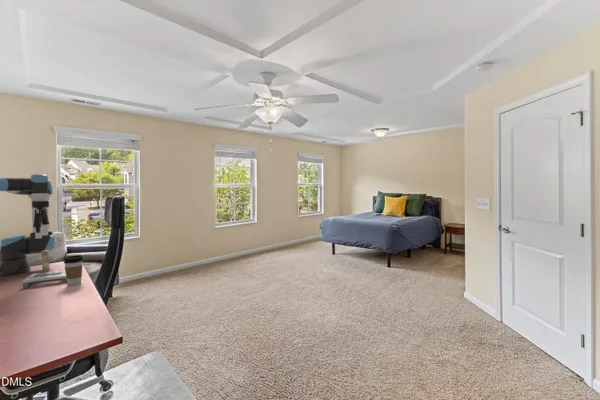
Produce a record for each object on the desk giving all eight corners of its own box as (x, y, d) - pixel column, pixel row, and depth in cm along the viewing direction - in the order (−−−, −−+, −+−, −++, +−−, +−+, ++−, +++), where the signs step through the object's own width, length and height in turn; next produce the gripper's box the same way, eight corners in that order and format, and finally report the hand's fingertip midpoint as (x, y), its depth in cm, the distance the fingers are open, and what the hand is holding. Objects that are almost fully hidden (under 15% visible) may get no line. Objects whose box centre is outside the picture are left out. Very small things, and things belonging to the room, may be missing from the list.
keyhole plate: (32, 280, 169) (32, 273, 169) (75, 275, 178) (75, 268, 178) (22, 288, 155) (22, 280, 155) (70, 282, 164) (69, 275, 164)
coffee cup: (87, 281, 164) (86, 255, 164) (74, 286, 156) (73, 258, 155) (74, 281, 165) (73, 255, 164) (60, 286, 156) (59, 258, 156)
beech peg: (41, 276, 177) (40, 250, 176) (53, 275, 179) (52, 249, 179) (38, 279, 172) (37, 251, 171) (50, 277, 174) (49, 250, 174)
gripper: (38, 200, 182) (39, 234, 182) (25, 201, 160) (26, 240, 160) (53, 200, 185) (55, 233, 186) (42, 201, 163) (44, 239, 164)
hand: (42, 236), depth 173 cm, fingers open, 13 cm apart
